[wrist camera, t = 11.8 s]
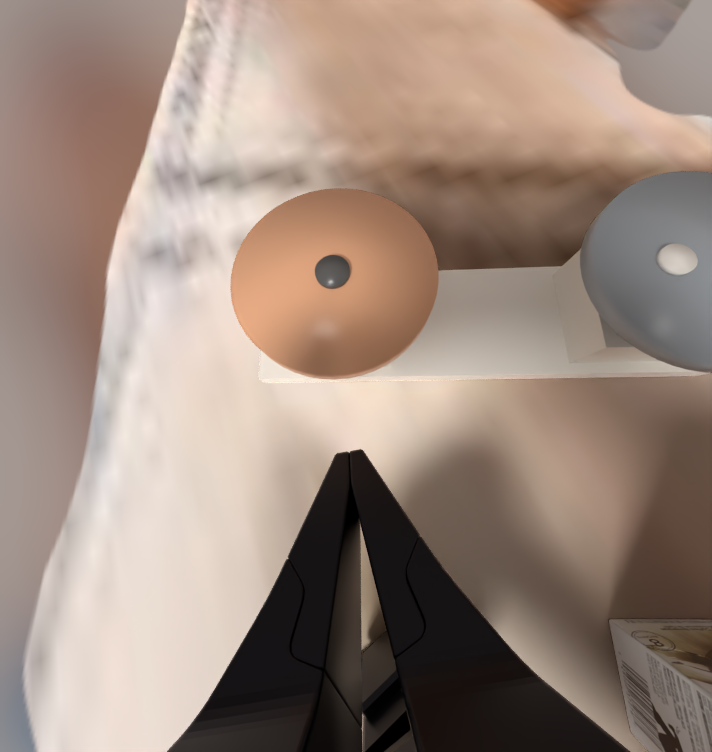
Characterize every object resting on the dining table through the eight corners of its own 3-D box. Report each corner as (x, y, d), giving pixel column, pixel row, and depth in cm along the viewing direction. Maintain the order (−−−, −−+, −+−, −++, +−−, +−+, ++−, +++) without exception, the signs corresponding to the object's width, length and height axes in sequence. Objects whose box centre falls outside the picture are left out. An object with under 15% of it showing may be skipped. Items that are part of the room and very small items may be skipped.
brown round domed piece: (416, 248, 24) (432, 179, 17) (425, 393, 21) (448, 370, 15) (272, 254, 24) (238, 189, 18) (261, 395, 21) (217, 374, 15)
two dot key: (682, 238, 23) (798, 160, 16) (731, 389, 20) (893, 363, 14) (525, 244, 23) (579, 172, 17) (549, 391, 20) (626, 367, 14)
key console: (666, 273, 24) (739, 229, 20) (697, 376, 22) (788, 356, 17) (271, 285, 26) (249, 249, 21) (264, 382, 24) (238, 366, 19)
